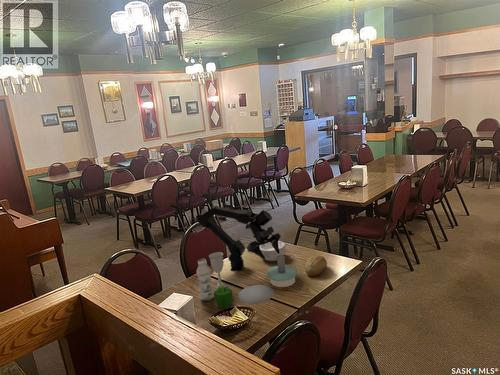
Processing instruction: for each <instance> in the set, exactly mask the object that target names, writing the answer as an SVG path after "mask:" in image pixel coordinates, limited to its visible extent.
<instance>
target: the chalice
mask: <svg viewBox="0 0 500 375" xmlns="http://www.w3.org/2000/svg"><path fill="white" fill-rule="evenodd" d="M223 256H224V253H223V252H221V251H217V252H212V253H210V254H209V255H208V258H209V259H210V260H209V261H210V266H211V267H212V269H213V271H214V272H215V273H217V278H218V279H217V281H218V283H217V285H216V290H217V289H218V288H219V287H221V285H222V284H224V282H222V278H221V276H222V275H221V272H222V270H223V268H224V263H225V262H224V257H223ZM225 286H226V285H225V284H224V287H225Z"/></svg>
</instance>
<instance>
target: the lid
mask: <svg viewBox="0 0 500 375" xmlns="http://www.w3.org/2000/svg"><path fill="white" fill-rule="evenodd" d="M276 261H277V262H276V263H277V265H275V266H272V267H270V268H269V269H268V270H267V271H266V276H267V278H269V279H272V280H275V281H286V280H290V279H292V278H294V277H295V278H296V277H297V276H298V269H297V268H296V267H295V266H293V265H288V264H286V263H285V262H286V261H285V256H284V255H279V256H277V260H276Z"/></svg>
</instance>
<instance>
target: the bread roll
mask: <svg viewBox="0 0 500 375" xmlns="http://www.w3.org/2000/svg"><path fill="white" fill-rule="evenodd" d="M327 262H328V261H327V260H326V258H325V257H324V256H321V255H313V256H311V257H309V258H308V259H307V261H306V263H305V266H304V270H305V274H307V276H309V277H315V276H318V275H319V274H321V273H323V271H324V270H325V269H326V267H327V266H328V263H327Z"/></svg>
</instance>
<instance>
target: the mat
mask: <svg viewBox="0 0 500 375" xmlns="http://www.w3.org/2000/svg"><path fill="white" fill-rule="evenodd" d="M274 293H275V292H274V289H273V288H272V287H270V286H268V285H265V284H256V285H255V284H254V285H250V286H246V287H244V288H243V289H241V290H240V291H239V292H238V294H237V296H238V297H237V299H238V300H239V301H240V302H242V303H245V304H247V305H249V304H250V305H257V304H262V303H265V302H267V301H269V300H270V299H271V298H273V296H274Z"/></svg>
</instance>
